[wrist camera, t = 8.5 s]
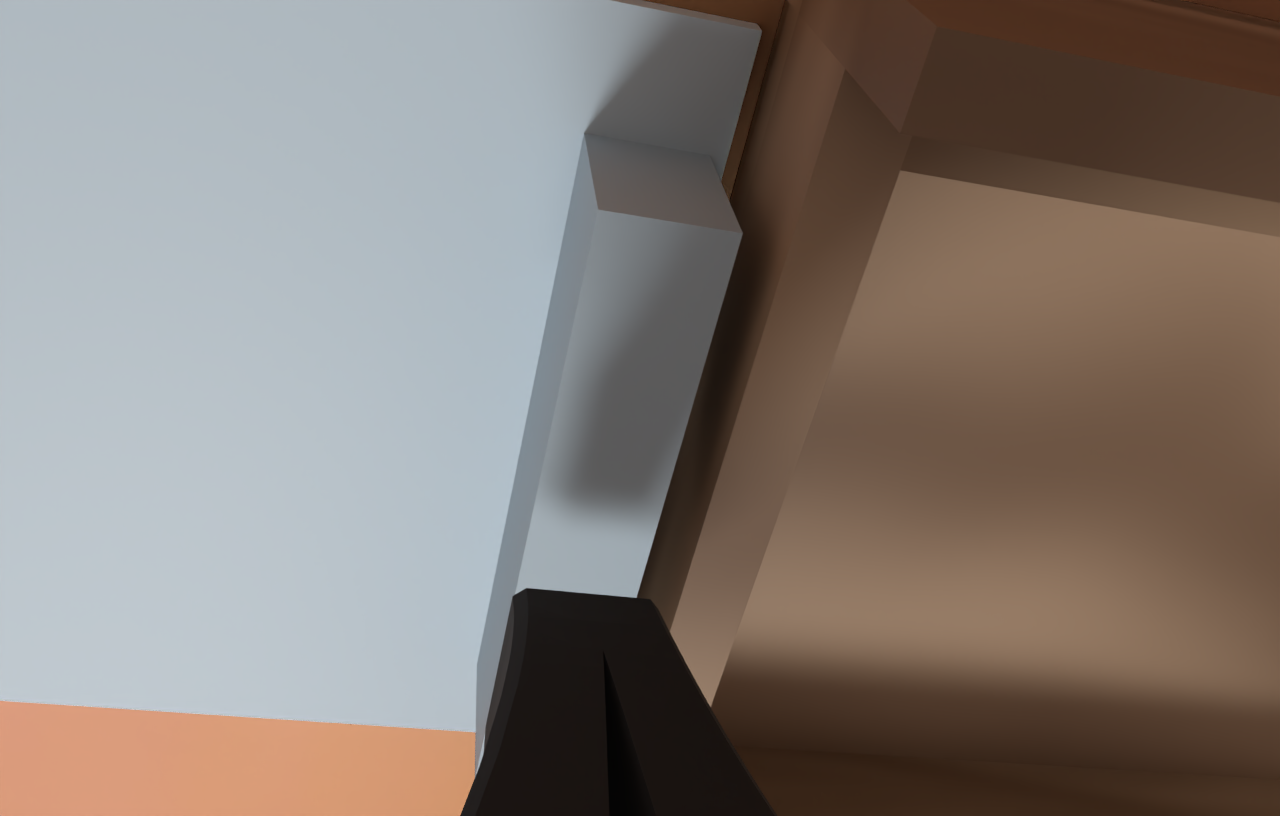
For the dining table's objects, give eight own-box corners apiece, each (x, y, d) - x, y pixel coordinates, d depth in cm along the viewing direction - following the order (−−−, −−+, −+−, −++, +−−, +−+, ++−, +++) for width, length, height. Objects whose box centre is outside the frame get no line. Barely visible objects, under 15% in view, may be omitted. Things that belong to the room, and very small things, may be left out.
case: (1409, 821, 22) (1577, 1034, 18) (572, 775, 18) (590, 1026, 15) (1975, 176, 15) (2404, 328, 11) (807, -82, 11) (936, 27, 8)
